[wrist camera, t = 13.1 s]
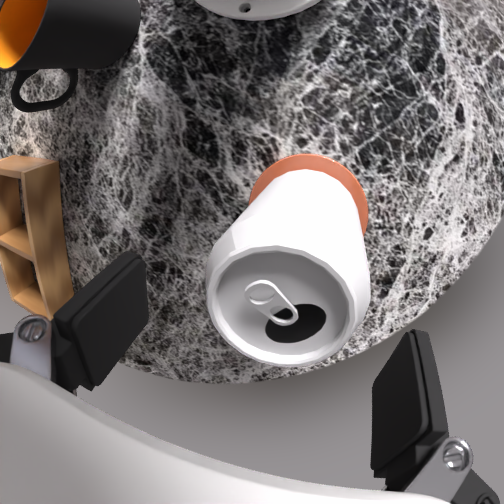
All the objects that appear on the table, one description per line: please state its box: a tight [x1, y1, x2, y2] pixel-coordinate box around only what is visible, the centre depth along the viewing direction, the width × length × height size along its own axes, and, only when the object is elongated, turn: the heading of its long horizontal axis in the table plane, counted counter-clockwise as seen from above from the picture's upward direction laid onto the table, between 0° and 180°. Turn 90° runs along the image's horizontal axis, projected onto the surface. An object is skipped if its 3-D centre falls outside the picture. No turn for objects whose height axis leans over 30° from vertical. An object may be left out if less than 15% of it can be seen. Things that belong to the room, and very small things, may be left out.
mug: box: [0, 0, 141, 112], centre depth 16 cm, size 8×12×10 cm
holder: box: [0, 155, 74, 321], centre depth 30 cm, size 20×10×5 cm, turn 171°
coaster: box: [249, 153, 368, 236], centre depth 22 cm, size 9×9×1 cm
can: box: [206, 169, 371, 367], centre depth 17 cm, size 8×8×12 cm
